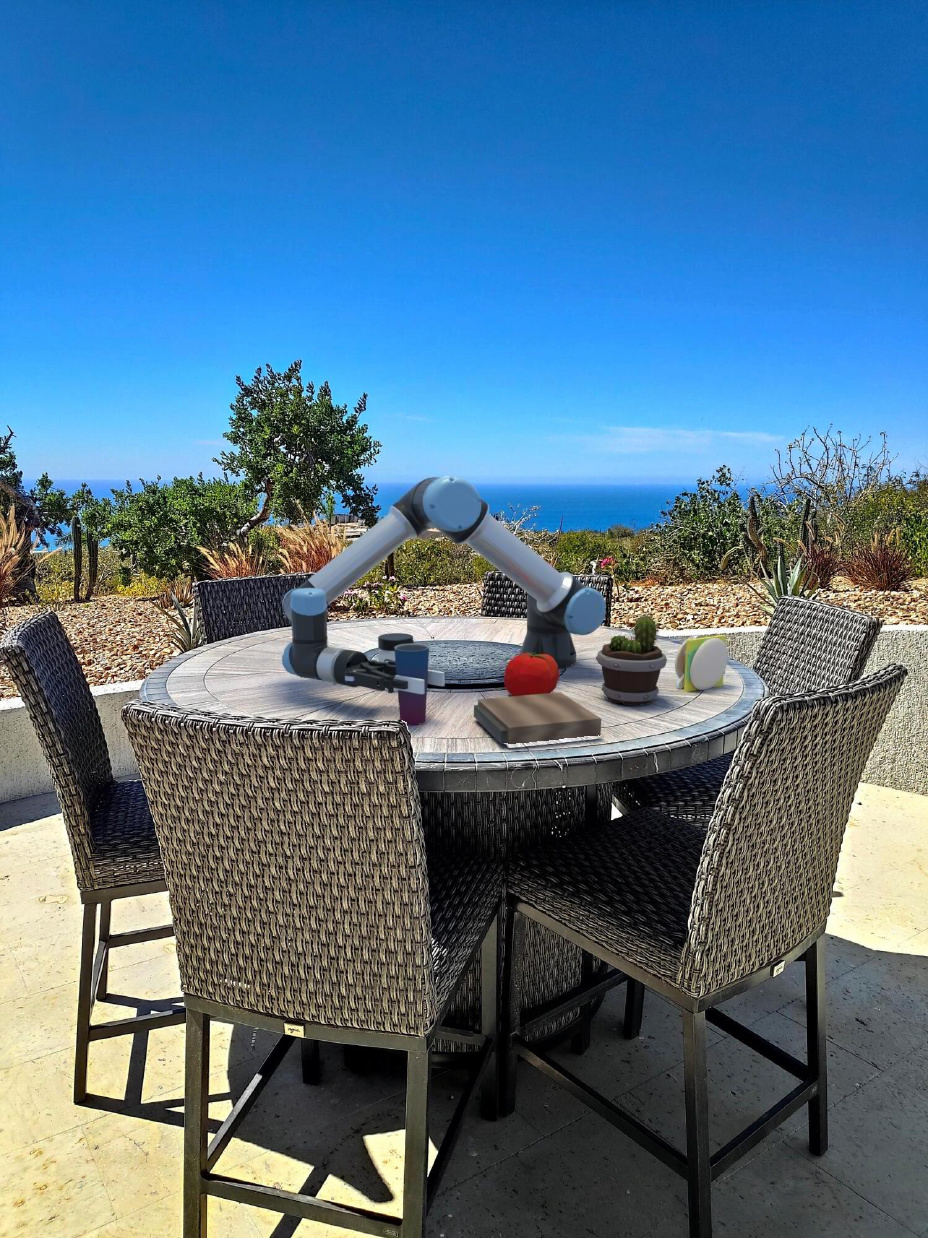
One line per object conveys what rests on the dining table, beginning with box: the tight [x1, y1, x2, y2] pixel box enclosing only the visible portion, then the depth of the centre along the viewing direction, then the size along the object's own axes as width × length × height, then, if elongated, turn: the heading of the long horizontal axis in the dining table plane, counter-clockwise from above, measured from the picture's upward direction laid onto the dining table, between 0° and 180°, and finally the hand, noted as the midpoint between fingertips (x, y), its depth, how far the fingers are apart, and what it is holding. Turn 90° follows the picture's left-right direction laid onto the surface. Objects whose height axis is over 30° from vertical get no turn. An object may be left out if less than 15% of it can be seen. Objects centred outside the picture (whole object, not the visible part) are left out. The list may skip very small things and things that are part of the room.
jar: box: [377, 632, 415, 693], centre depth 166 cm, size 9×8×12 cm
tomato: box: [503, 652, 560, 697], centre depth 158 cm, size 11×13×10 cm
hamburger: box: [674, 634, 729, 693], centre depth 167 cm, size 12×8×12 cm
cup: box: [394, 643, 430, 726], centre depth 141 cm, size 7×7×15 cm
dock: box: [473, 691, 602, 744], centre depth 137 cm, size 19×18×4 cm
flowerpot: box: [595, 610, 668, 707], centre depth 155 cm, size 14×15×20 cm
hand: (433, 683), depth 138 cm, fingers closed on cup, 6 cm apart
